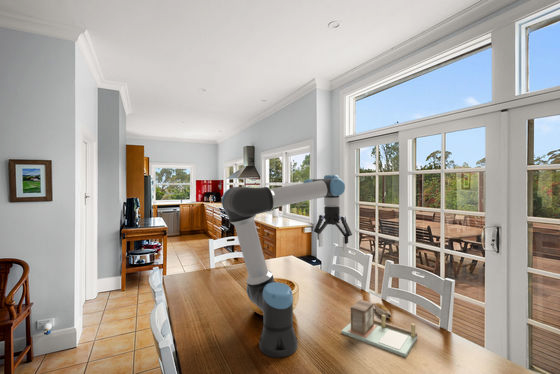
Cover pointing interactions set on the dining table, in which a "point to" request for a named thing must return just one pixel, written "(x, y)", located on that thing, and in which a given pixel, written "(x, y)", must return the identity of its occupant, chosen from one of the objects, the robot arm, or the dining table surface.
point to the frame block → (362, 317)
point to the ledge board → (386, 336)
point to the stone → (382, 310)
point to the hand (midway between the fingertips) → (332, 248)
